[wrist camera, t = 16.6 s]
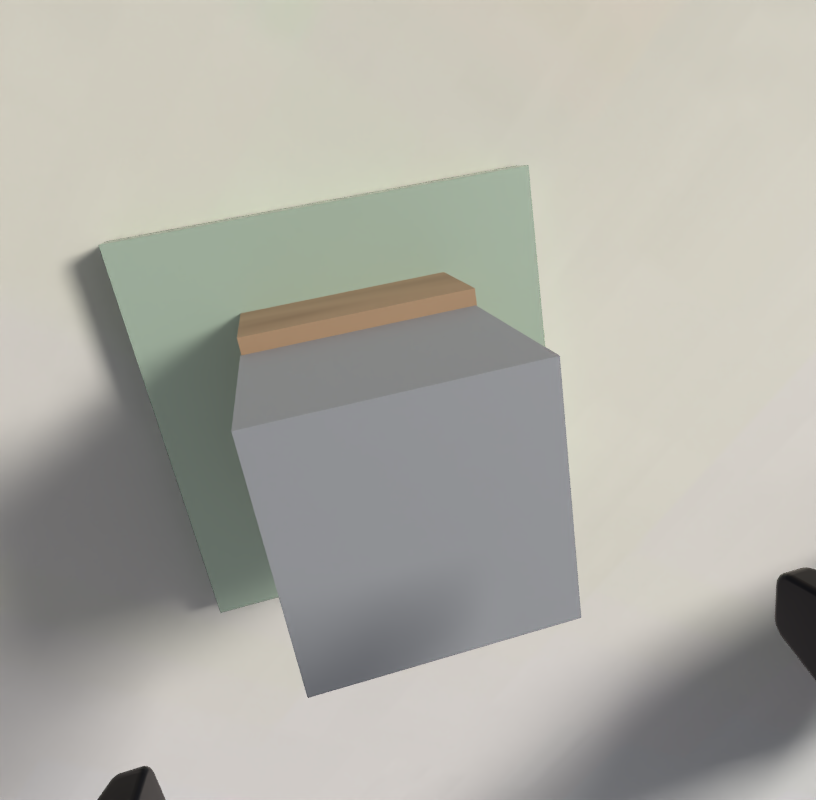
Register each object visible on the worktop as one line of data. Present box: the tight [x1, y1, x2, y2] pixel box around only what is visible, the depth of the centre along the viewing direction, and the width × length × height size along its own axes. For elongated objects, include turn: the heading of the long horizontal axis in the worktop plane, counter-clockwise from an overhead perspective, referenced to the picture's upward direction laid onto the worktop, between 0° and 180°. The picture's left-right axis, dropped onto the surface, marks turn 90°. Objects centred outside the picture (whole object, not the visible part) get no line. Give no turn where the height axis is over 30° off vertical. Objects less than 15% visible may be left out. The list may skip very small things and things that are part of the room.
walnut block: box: [237, 272, 477, 355], centre depth 18 cm, size 7×6×3 cm
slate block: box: [231, 305, 581, 698], centre depth 15 cm, size 6×6×5 cm
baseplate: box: [99, 165, 545, 613], centre depth 20 cm, size 12×12×1 cm
